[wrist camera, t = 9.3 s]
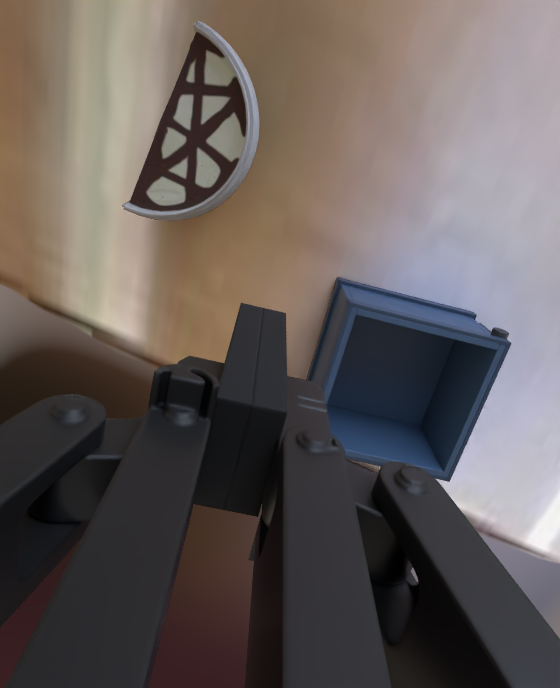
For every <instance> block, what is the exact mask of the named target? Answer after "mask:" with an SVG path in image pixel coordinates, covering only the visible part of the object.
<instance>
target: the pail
mask: <svg viewBox="0 0 560 688" xmlns="http://www.w3.org/2000/svg"><path fill="white" fill-rule="evenodd" d="M476 316H477V315H476V314H474V313H473V312H471V311H467V310H463V309H459V308H455V307H451V306H447V305H443V304H439V303H435V302H432V301H428V300H424V299H420V298H416V297H412V296H408V295H404V294H400V293H397V292H393V291H389V290H385V289H381V288H377V287H373V286H369V285H365V284H361V283H358V282H354V281H350V280H346V279H342V278H338V277H337V279H336V283H335V286H334V289H333V293H332V296H331V299H330V303H329V306H328V309H327V313H326V316H325V319H324V322H323V326H322V329H321V332H320V336H319V339H318V342H317V346H316V349H315V352H314V355H313V359H312V362H311V365H310V369H309V372H308V375H307V379H306V380H307V381H312V382H316V383H317V385H318V386H319V387H320V388H321V389H322V390H323V392H324V393H325V399H326V405H327V412H328V417H329V423H330V429H331V434H332V435H334V436H335V437H336V438H337V439H338V440H339V441H340V442H341V443H342V445H343V447H344V450H345V455H346V458H347V459H351V460H356V461H360V462H364V463H369V464H373V465H378V466H382V465H383V464H385V463H387V462H395V461H398V462H403V463H410V464H413V465H414V466H418V467H420V468H422V469H423V470H424V471H426V472H427V473H429V474H430V475H432V476H433V477H434V478H436V479H440V480H444V481H449V482H450V480H451V477H452V475H453V473H454V471H455V468H456V466H457V464H458V462H459V459H460V457H461V455H462V453H463V450H464V448H465V446H466V444H467V442H468V439H469V437H470V435H471V433H472V430H473V428H474V426H475V424H476V421H477V419H478V417H479V415H480V412H481V410H482V408H483V406H484V404H485V401H486V399H487V397H488V395H489V392H490V390H491V388H492V386H493V383H494V381H495V379H496V377H497V374H498V372H499V370H500V368H501V365H502V363H503V361H504V359H505V357H506V354H507V352H508V350H509V348H510V345H511V342H509V341H508V340H507V337H508V335H509V333H508V332H507V331H505V330H503V329H500V328H493V329H492V332H491V331H490V330H488V329H487V328H486V327H485V326H484V325H482V324H481V323H478V322H477V321H475V318H476Z"/></svg>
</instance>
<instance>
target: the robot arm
mask: <svg viewBox="0 0 560 688" xmlns="http://www.w3.org/2000/svg"><path fill="white" fill-rule="evenodd" d="M193 504H197V505H202V506H207V507H212V508H217V509H222V510H227V511H232V512H237V513H242V514H247V515H252V516H257V517H258V515H259V511H260V508H261V504H262V514H261V517H260V521H259V524H258V528H257V531H256V535H255V538H254V542H253V546H252V549H251V553H250V556H249V560H252V561H253V560H254V569H253V582H252V595H251V610H250V623H249V636H248V637H249V638H248V649H247V663H246V676H245V688H560V639H559V637H558V636H557V635H556V634H555V632H554V631H553V630H552V628H551V627H550V626H549V624H548V623H547V622H546V621H545V619H544V618H543V617H542V615H541V614H540V613H539V612H538V610H537V609H536V608H535V606H534V605H533V604H532V603H531V601H530V600H529V599H528V597H527V596H526V595H525V593H524V592H523V591H522V590H521V588H520V587H519V586H518V584H517V583H516V582H515V580H514V579H513V578H512V577H511V575H510V574H509V573H508V572H507V570H506V569H505V568H504V566H503V565H502V564H501V562H500V561H499V560H498V559H497V557H496V556H495V555H494V553H493V552H492V551H491V549H490V548H489V547H488V545H487V544H486V543H485V542H484V540H483V539H482V538H481V536H480V535H479V534H478V533H477V531H476V530H475V529H474V527H473V526H472V525H471V523H470V522H469V521H468V520H467V518H466V517H465V516H464V514H463V513H462V512H461V511H460V509H459V508H458V507H457V505H456V504H455V503H454V501H453V500H452V499H451V498H450V496H449V495H448V494H447V492H446V491H445V490H444V488H443V487H442V486H441V485H440V483H439V482H438V481H437V480H436V479H435V478H434V477H433V476H432V475H430V474H429V473H427V472H426V471H424V470H423V469H422V468H420V467H418V466H414V465H413V464H410V463H403V462H398V461H395V462H387V463H385V464H383V465H382V466H381V468H380V471H379V473H378V475H377V474H375V473H373V472H370V471H368V470H365V469H363V468H361V467H359V466H357V465H355V464H353V463H351V462H349V461H348V460H346V455H345V450H344V447H343V445H342V443H341V442H340V441H339V440H338V439H337V438H336V437H335V436H334V435H332V434H331V429H330V423H329V417H328V412H327V405H326V399H325V393H324V392H323V390H322V389H321V388H320V387H319V386H318V385H317V383H316V382H312V381H307V380H303V379H298V378H294V377H289V376H287V353H286V313H282V312H278V311H274V310H270V309H265V308H261V307H257V306H252V305H248V304H244V303H241V305H240V308H239V312H238V316H237V319H236V323H235V327H234V330H233V334H232V338H231V341H230V345H229V349H228V352H227V356H226V360H225V363H220V362H216V361H211V360H207V359H202V358H198V357H193V356H188V357H186V358H184V359H183V360H181V361H179V362H178V363H177V364H172V365H166V366H163V367H159V368H158V369H157V370H156V371H155V372H154V376H153V382H152V389H151V395H150V401H149V408H148V409H147V411H146V413H145V415H144V416H141V417H136V418H131V419H106V409H105V408H104V407H103V405H102V404H101V403H99V402H97V401H95V400H94V399H92V398H89V397H84V396H81V395H75V394H73V395H71V394H63V395H57V396H51V397H48V398H46V399H43V400H41V401H39V402H37V403H36V404H34V405H32V406H31V407H29V408H28V409H26V410H24V411H22V412H21V413H19V414H17V415H16V416H14V417H12V418H11V419H9V420H7V421H6V422H4V423H2V424H1V425H0V627H1V626H2V625H3V624H4V623H5V622H6V621H7V620H8V618H9V617H10V616H11V615H12V614H13V613H14V612H15V611H16V609H18V607H19V606H20V605H21V604H22V603H23V602H24V601H25V600H26V599H27V597H28V596H29V595H30V594H31V593H32V592H33V591H34V590H35V589H36V588H37V586H38V585H39V584H40V583H41V582H42V581H43V580H44V579H45V578H46V577H47V575H48V574H49V573H50V572H51V571H52V570H53V569H54V568H55V567H56V565H57V564H58V563H59V562H60V561H61V560H62V559H63V558H64V557H65V556H66V555H67V553H68V552H69V551H70V550H71V549H72V548H73V547H74V546H75V545H76V543H77V542H78V541H79V540H80V539H81V540H80V542H79V544H78V546H77V548H76V550H75V552H74V554H73V556H72V558H71V560H70V562H69V564H68V565H67V568H66V569H65V571H64V573H63V575H62V577H61V579H60V581H59V583H58V585H57V587H56V589H55V591H54V593H53V595H52V597H51V599H50V601H49V603H48V604H47V606H46V608H45V610H44V613H43V614H42V616H41V618H40V620H39V622H38V624H37V626H36V628H35V630H34V632H33V634H32V636H31V638H30V640H29V642H28V643H27V645H26V647H25V649H24V651H23V653H22V655H21V657H20V659H19V661H18V663H17V665H16V667H15V669H14V671H13V673H12V675H11V677H10V679H9V681H8V683H7V685H6V687H5V688H148V687H149V683H150V679H151V675H152V671H153V667H154V663H155V659H156V655H157V651H158V647H159V643H160V639H161V635H162V630H163V626H164V623H165V618H166V614H167V610H168V606H169V602H170V598H171V594H172V590H173V586H174V581H175V578H176V574H177V570H178V566H179V561H180V557H181V553H182V550H183V545H184V541H185V537H186V533H187V529H188V525H189V521H190V517H191V512H192V508H193ZM412 567H413V568H414V570H415V572H416V575H417V577H418V582H419V583H418V582H417V581H416V580H415V578H414V577H413V575H412V573H411V569H412Z"/></svg>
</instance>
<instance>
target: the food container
mask: <svg viewBox="0 0 560 688" xmlns="http://www.w3.org/2000/svg"><path fill="white" fill-rule="evenodd" d="M193 26H194V29H195V32H196V34H195V36H194V39H193V41H192V43H191V45H190V49H189V52H188V55H187V58H186V60H185V63H184V65H183V68H182V70H181V73H180V75H179V78H178V80H177V82H176V85H175V87H174V90H173V92H172V95H171V97H170V99H169V102H168V104H167V106H166V109H165V111H164V113H163V116H162V118H161V120H160V123H159V126H158V129H157V131H156V134H155V137H154V140H153V143H152V145H151V148H150V150H149V153H148V156H147V158H146V161H145V164H144V166H143V169H142V171H141V174H140V176H139V179H138V181H137V184H136V187H135V189H134V192H133V194H132V197H131V200H130V201H129V202H127V203H125V204H123V205H122V207H124V209H125V210H127V211H130V212H132V213H134V214H137V215H140V216H143V217H147V218H151V219H155V220H167V221H173V220H185V219H189V218H193V217H197V216H200V215H202V214H204V213H207V212H209V211H211V210H213V209H214V208H216V207H217V206H219V205H220V204H222V203H223V202H224V201H225V200H227V199H228V198H229V197H230V196H231V195H232V194H233V193H234V192H235V191H236V189H237V188H238V187H239V186H240V184H241V183H242V182H243V180H244V178H245V176H246V175H247V173H248V171H249V169H250V167H251V164H252V162H253V159H254V156H255V153H256V148H257V143H258V139H259V111H258V103H257V99H256V95H255V90H254V87H253V84H252V82H251V79H250V77H249V74H248V72H247V70H246V68H245V67H244V65H243V63H242V61H241V60H240V58H239V56H238V55H237V54H236V52H235V51H234V50H233V49H232V47H231V46H230V45H229V44H228V42H226V41H225V40H224V39H223V38H222V37H221V36H220V35H219V34H218V33H217V32H216V31H215V30H213V29H212V28H210V27H209V26H207V25H206V24H205V23H203V22H200V21H197V22H196V24H195V23H193Z"/></svg>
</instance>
